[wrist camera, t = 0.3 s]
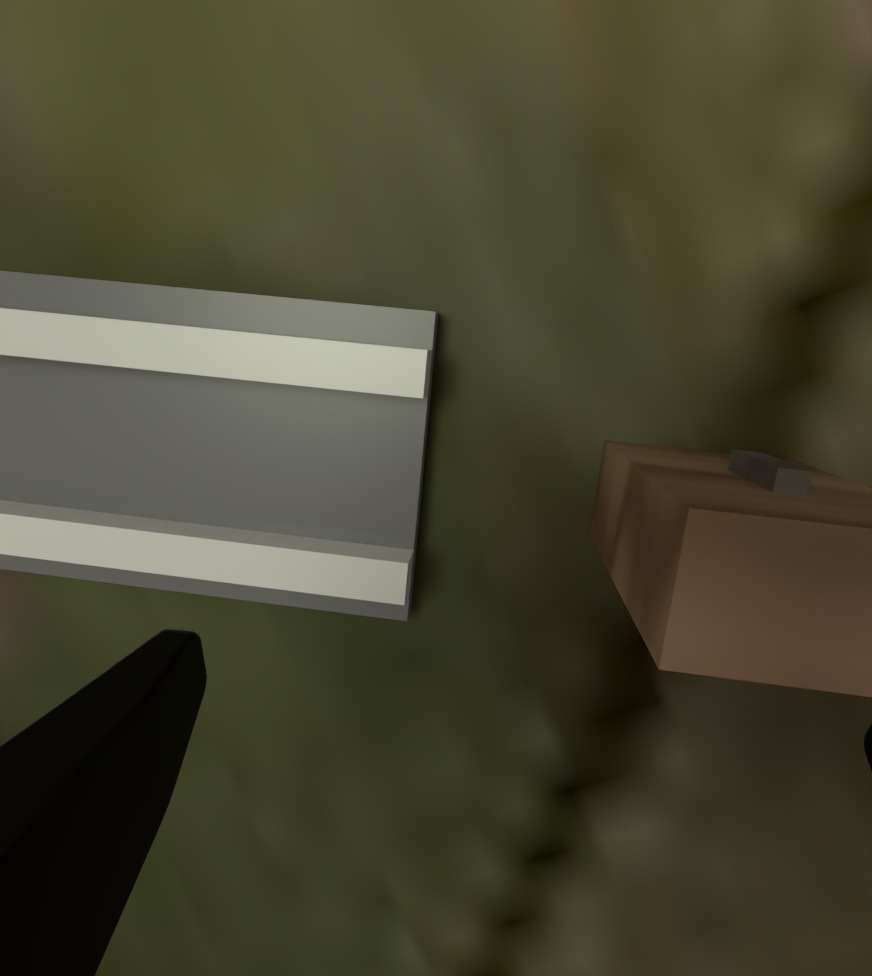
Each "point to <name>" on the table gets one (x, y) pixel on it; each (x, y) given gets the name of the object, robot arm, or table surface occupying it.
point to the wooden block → (740, 564)
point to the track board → (213, 441)
